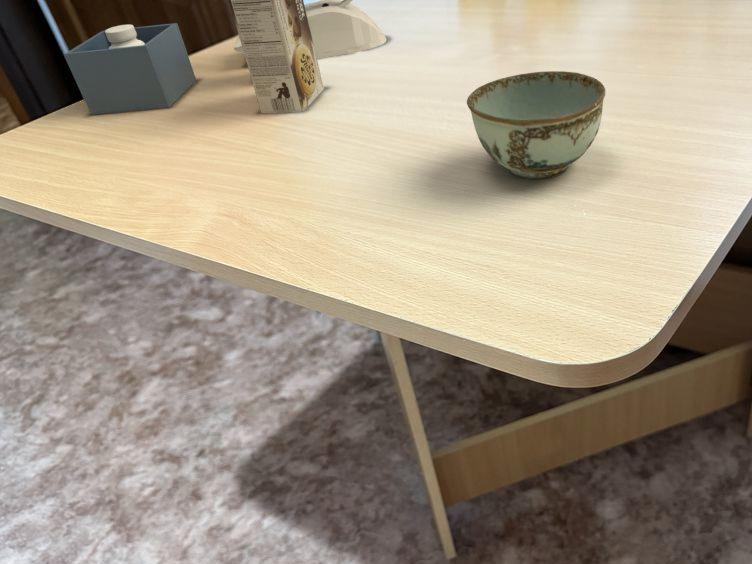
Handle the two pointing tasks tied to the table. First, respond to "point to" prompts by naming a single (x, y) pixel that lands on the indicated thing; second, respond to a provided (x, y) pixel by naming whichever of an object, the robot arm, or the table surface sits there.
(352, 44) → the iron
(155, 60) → the drawer
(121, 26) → the pill bottle
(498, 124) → the bowl
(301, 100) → the cookie box
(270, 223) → the table surface
